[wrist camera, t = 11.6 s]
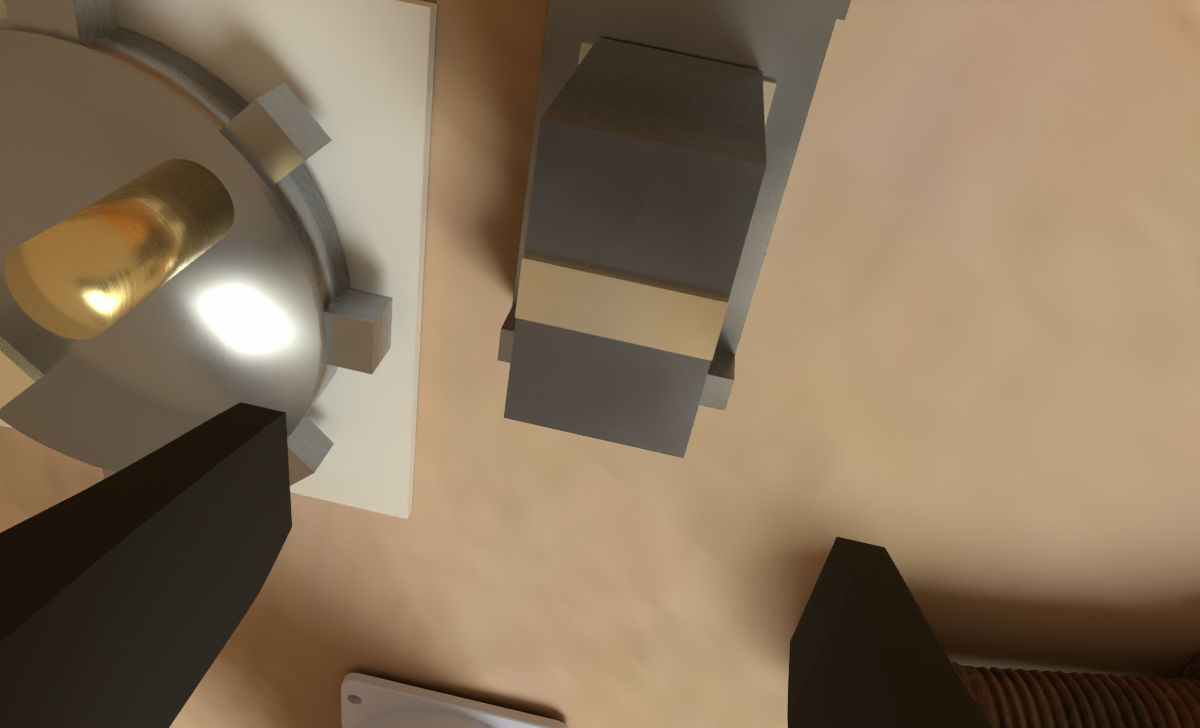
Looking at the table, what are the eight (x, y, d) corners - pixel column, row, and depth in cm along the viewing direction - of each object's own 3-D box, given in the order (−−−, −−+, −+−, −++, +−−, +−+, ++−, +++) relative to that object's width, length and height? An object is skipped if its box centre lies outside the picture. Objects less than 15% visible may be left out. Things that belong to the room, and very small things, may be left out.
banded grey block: (699, 309, 18) (683, 462, 14) (561, 279, 18) (502, 421, 14) (762, 71, 15) (766, 168, 11) (598, 37, 15) (538, 120, 11)
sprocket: (506, 342, 20) (429, 506, 15) (174, 528, 26) (39, 693, 21) (61, -202, 15) (-260, -214, 10) (-232, 172, 21) (-532, 278, 16)
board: (411, 509, 25) (407, 519, 24) (-44, 404, 25) (-55, 413, 25) (436, 3, 17) (430, 7, 17) (-222, -133, 17) (-241, -132, 17)
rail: (726, 352, 20) (723, 414, 18) (522, 308, 20) (497, 363, 18) (847, -59, 15) (862, -41, 13) (577, -114, 15) (549, -104, 13)
